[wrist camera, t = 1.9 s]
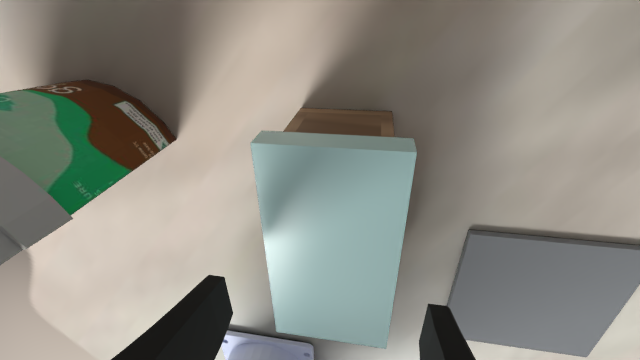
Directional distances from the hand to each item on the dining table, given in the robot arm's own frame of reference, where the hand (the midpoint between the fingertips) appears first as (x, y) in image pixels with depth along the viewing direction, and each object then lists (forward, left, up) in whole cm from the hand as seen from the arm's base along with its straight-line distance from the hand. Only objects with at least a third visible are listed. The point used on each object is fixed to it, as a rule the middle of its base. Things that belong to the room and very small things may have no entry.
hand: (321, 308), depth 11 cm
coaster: (-6, -11, -8) cm, 15 cm away
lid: (0, 0, -4) cm, 4 cm away
